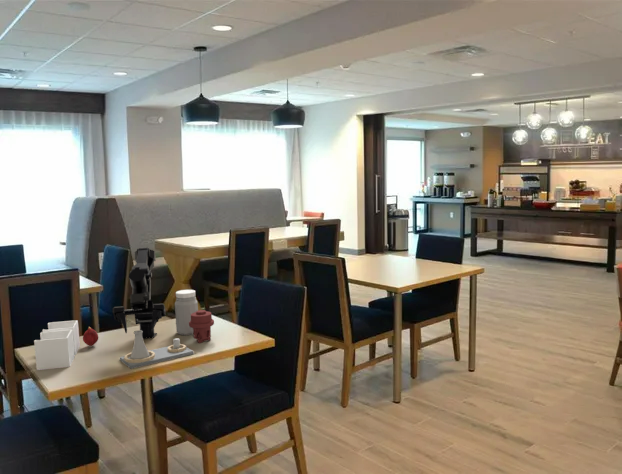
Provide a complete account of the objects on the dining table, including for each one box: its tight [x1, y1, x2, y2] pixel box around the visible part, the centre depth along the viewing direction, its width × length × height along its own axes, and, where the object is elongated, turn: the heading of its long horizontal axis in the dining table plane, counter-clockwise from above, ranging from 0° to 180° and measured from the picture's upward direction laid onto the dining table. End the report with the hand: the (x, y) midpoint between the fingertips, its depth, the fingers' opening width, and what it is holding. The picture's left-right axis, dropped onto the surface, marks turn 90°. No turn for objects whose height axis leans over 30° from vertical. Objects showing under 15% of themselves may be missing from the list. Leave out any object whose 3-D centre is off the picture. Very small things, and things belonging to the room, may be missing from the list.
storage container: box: [33, 320, 81, 371], centre depth 214 cm, size 25×11×11 cm, turn 14°
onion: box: [82, 326, 99, 347], centre depth 227 cm, size 6×6×8 cm
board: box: [119, 338, 194, 370], centre depth 212 cm, size 24×12×5 cm, turn 127°
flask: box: [130, 329, 150, 359], centre depth 207 cm, size 7×7×10 cm
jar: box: [174, 289, 199, 336], centre depth 242 cm, size 10×10×18 cm
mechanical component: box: [189, 309, 215, 344], centre depth 230 cm, size 12×10×10 cm
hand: (138, 331), depth 209 cm, fingers open, 9 cm apart
